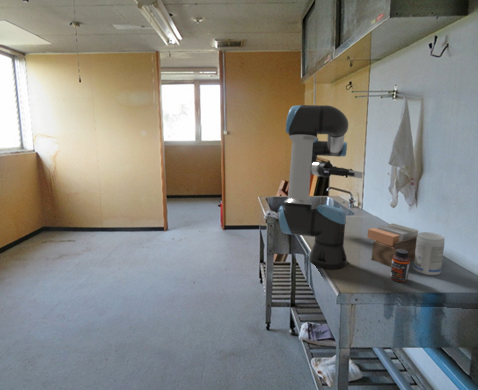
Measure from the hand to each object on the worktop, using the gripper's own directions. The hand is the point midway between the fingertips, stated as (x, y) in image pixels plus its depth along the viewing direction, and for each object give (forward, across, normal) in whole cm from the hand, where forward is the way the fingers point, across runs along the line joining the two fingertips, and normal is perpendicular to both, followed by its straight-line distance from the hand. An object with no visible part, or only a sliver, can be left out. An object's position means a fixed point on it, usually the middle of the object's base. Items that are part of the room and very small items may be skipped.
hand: (361, 175), depth 156 cm
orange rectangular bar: (+16, +4, -26) cm, 31 cm away
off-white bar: (+16, -10, -26) cm, 32 cm away
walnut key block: (+20, -3, -34) cm, 39 cm away
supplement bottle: (+32, +15, -34) cm, 49 cm away
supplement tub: (+33, -2, -34) cm, 48 cm away
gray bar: (+16, -3, -26) cm, 31 cm away
